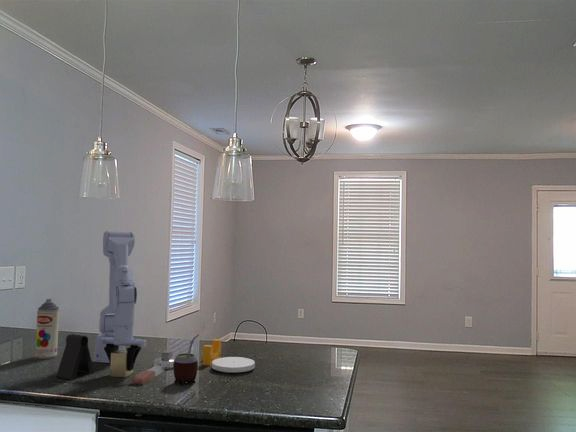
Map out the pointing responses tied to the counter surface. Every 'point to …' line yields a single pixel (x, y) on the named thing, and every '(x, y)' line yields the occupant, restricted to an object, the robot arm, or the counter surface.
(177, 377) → the mate gourd
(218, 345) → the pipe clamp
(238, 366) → the plastic lid
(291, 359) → the counter surface
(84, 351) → the phone stand
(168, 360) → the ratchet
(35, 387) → the counter surface
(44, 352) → the aerosol can
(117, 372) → the tan rectangular block
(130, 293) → the robot arm
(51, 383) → the counter surface
